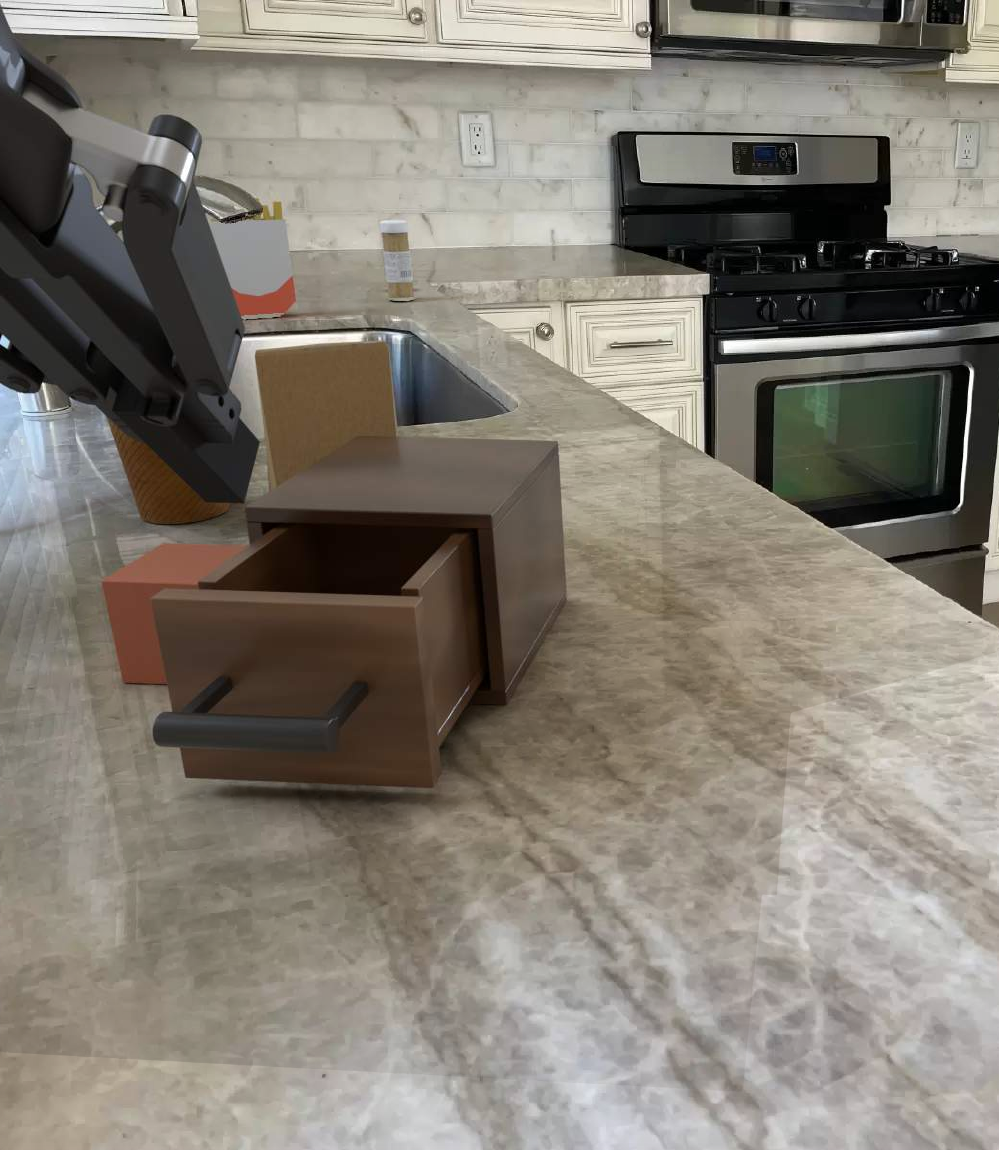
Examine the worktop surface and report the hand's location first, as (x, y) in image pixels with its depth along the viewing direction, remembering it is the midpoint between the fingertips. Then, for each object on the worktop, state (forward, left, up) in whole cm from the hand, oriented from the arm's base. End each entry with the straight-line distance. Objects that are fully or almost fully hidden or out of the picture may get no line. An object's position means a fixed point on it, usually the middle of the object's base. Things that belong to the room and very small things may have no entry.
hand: (233, 471), depth 44 cm
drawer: (-2, +6, -15) cm, 16 cm away
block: (-16, +11, -16) cm, 25 cm away
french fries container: (-107, +110, -16) cm, 154 cm away
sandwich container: (-26, +33, -16) cm, 45 cm away
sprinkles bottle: (-99, +135, -16) cm, 168 cm away
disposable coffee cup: (-39, +31, -16) cm, 52 cm away
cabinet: (-6, +18, -16) cm, 25 cm away
